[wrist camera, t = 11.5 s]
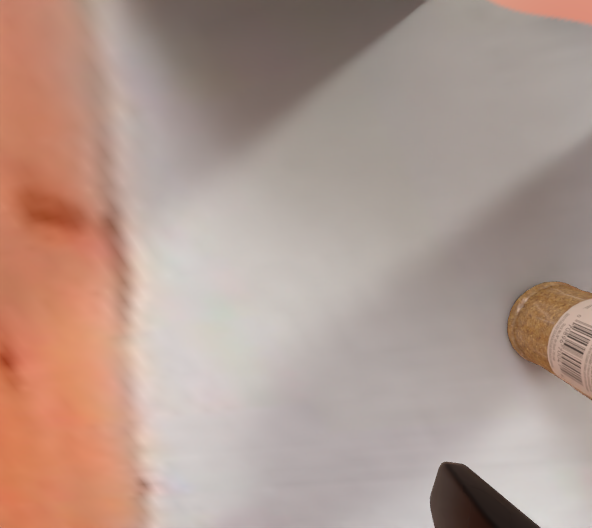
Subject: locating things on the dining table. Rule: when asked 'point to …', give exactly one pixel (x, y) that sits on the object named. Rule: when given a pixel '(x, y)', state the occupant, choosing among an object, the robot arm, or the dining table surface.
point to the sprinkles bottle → (555, 332)
